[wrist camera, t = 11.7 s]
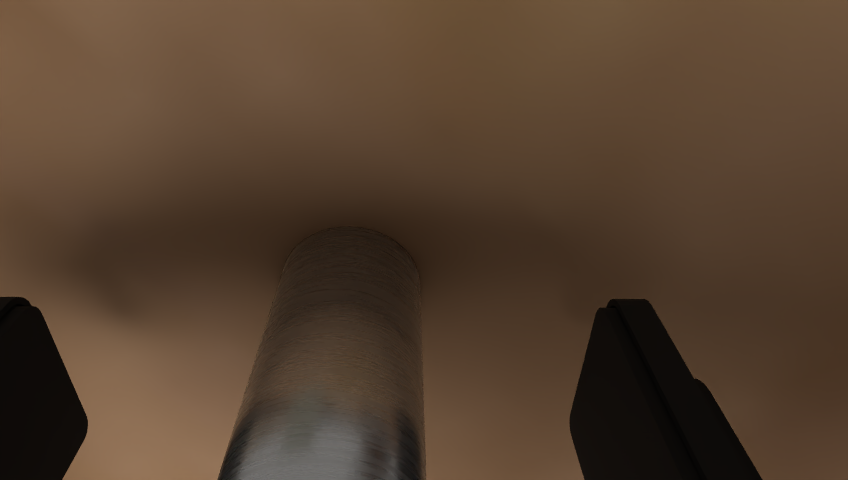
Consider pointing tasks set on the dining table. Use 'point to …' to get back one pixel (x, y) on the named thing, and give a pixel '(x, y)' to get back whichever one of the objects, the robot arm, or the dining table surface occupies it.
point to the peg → (336, 368)
